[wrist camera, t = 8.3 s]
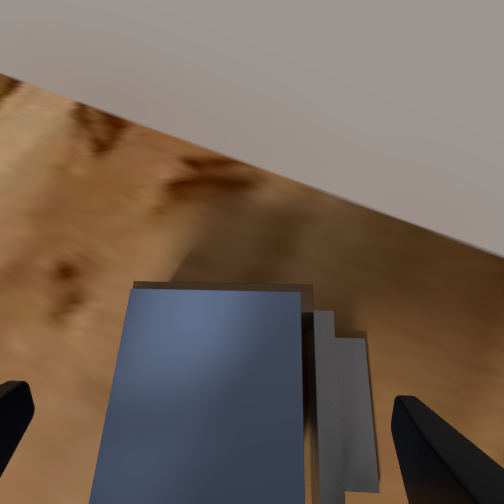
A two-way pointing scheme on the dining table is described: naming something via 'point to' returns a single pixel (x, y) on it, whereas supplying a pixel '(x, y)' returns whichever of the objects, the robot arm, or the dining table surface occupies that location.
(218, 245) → the dining table surface
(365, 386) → the bookend
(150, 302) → the book
